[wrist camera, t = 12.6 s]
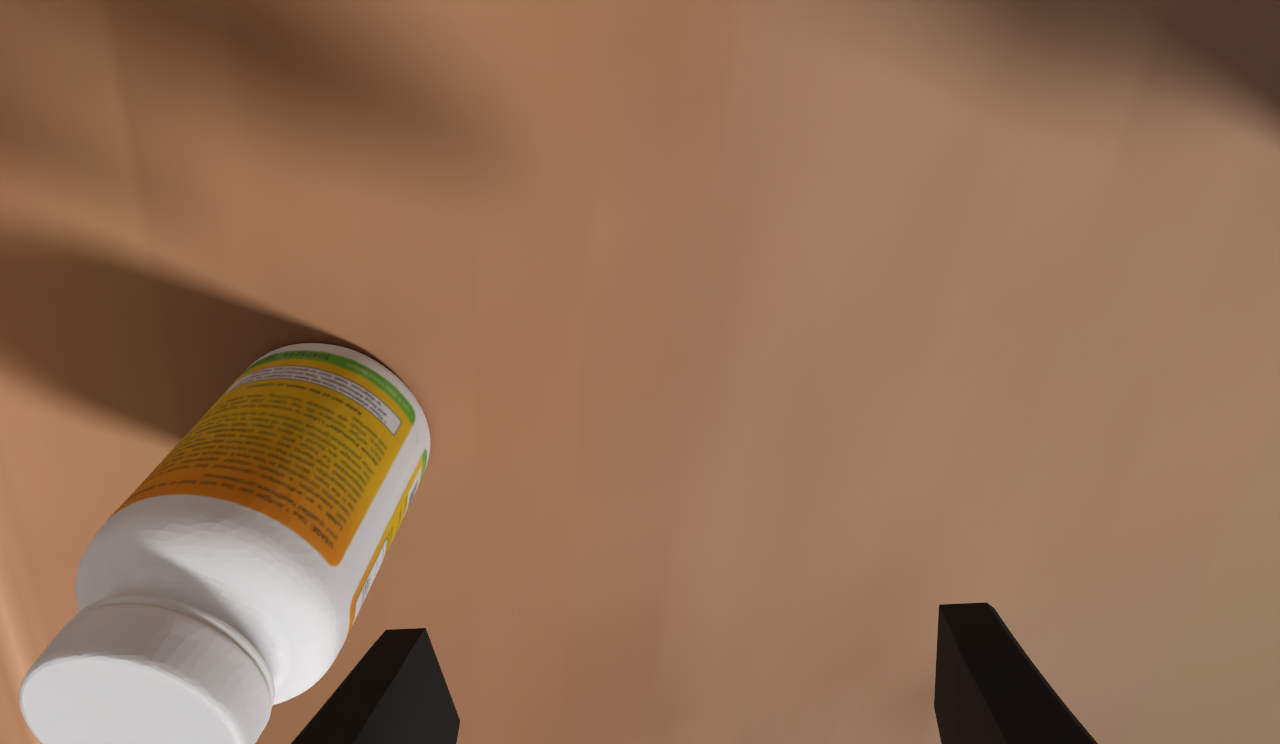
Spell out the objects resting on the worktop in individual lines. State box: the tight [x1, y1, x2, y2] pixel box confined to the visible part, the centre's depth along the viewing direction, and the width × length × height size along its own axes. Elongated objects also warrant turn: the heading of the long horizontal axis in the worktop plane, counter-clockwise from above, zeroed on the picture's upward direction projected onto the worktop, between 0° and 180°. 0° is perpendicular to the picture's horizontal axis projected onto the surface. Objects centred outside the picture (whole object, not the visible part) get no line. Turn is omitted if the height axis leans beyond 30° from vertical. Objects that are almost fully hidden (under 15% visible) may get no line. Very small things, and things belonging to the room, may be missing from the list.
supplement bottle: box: [19, 343, 430, 744], centre depth 19 cm, size 5×5×10 cm
